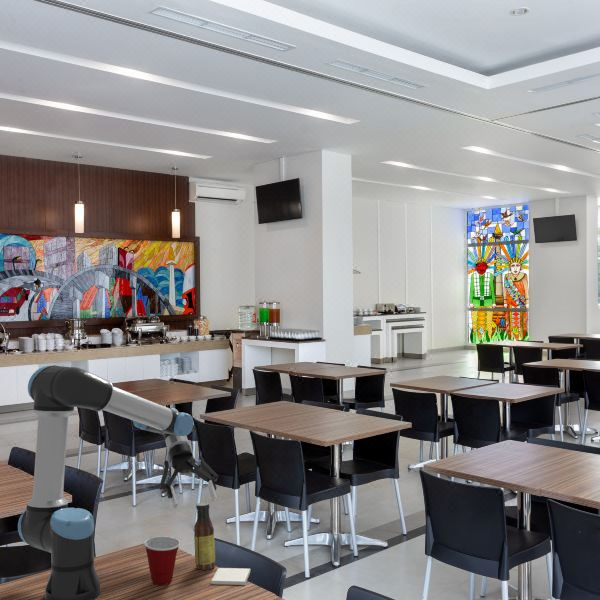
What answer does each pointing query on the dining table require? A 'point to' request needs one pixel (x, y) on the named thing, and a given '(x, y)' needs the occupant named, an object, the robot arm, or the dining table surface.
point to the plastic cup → (161, 558)
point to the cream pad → (231, 576)
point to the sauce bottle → (204, 538)
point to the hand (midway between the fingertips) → (195, 502)
